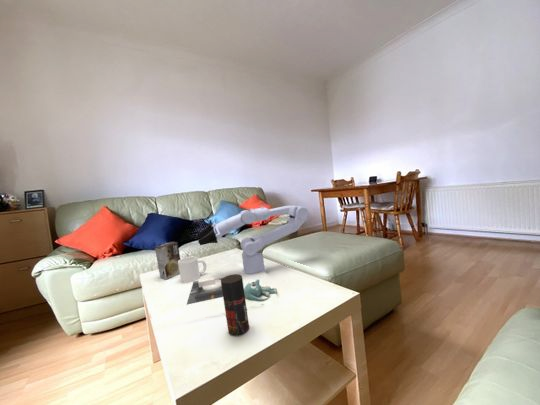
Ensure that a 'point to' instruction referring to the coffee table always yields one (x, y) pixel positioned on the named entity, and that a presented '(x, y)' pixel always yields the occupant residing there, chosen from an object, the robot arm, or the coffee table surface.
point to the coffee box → (168, 259)
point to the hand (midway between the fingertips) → (198, 239)
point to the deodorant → (235, 304)
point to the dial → (208, 284)
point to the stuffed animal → (257, 291)
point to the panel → (203, 295)
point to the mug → (190, 269)
